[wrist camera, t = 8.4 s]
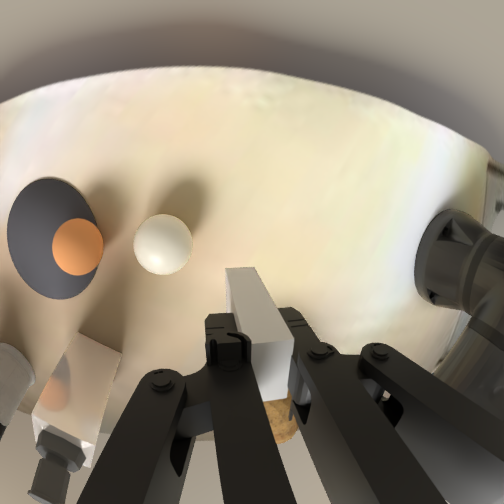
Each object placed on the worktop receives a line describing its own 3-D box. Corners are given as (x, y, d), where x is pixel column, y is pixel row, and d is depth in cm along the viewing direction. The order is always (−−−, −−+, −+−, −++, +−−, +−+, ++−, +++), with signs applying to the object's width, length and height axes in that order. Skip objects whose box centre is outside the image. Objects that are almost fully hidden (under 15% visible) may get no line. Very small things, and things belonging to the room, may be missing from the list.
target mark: (94, 171, 23) (94, 171, 23) (108, 299, 27) (108, 300, 27) (2, 188, 21) (2, 188, 20) (20, 297, 25) (20, 297, 24)
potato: (272, 334, 32) (292, 377, 24) (300, 398, 37) (318, 436, 29) (200, 362, 31) (202, 409, 24) (241, 420, 36) (251, 460, 29)
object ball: (98, 219, 20) (42, 229, 18) (107, 279, 22) (54, 288, 19) (101, 211, 25) (54, 218, 22) (107, 260, 27) (62, 268, 24)
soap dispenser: (69, 374, 29) (22, 498, 8) (77, 331, 27) (6, 475, 7) (108, 393, 31) (81, 525, 10) (122, 353, 29) (83, 513, 9)
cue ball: (141, 229, 19) (122, 216, 23) (152, 292, 21) (131, 270, 25) (201, 214, 23) (173, 204, 26) (206, 272, 25) (178, 255, 28)
